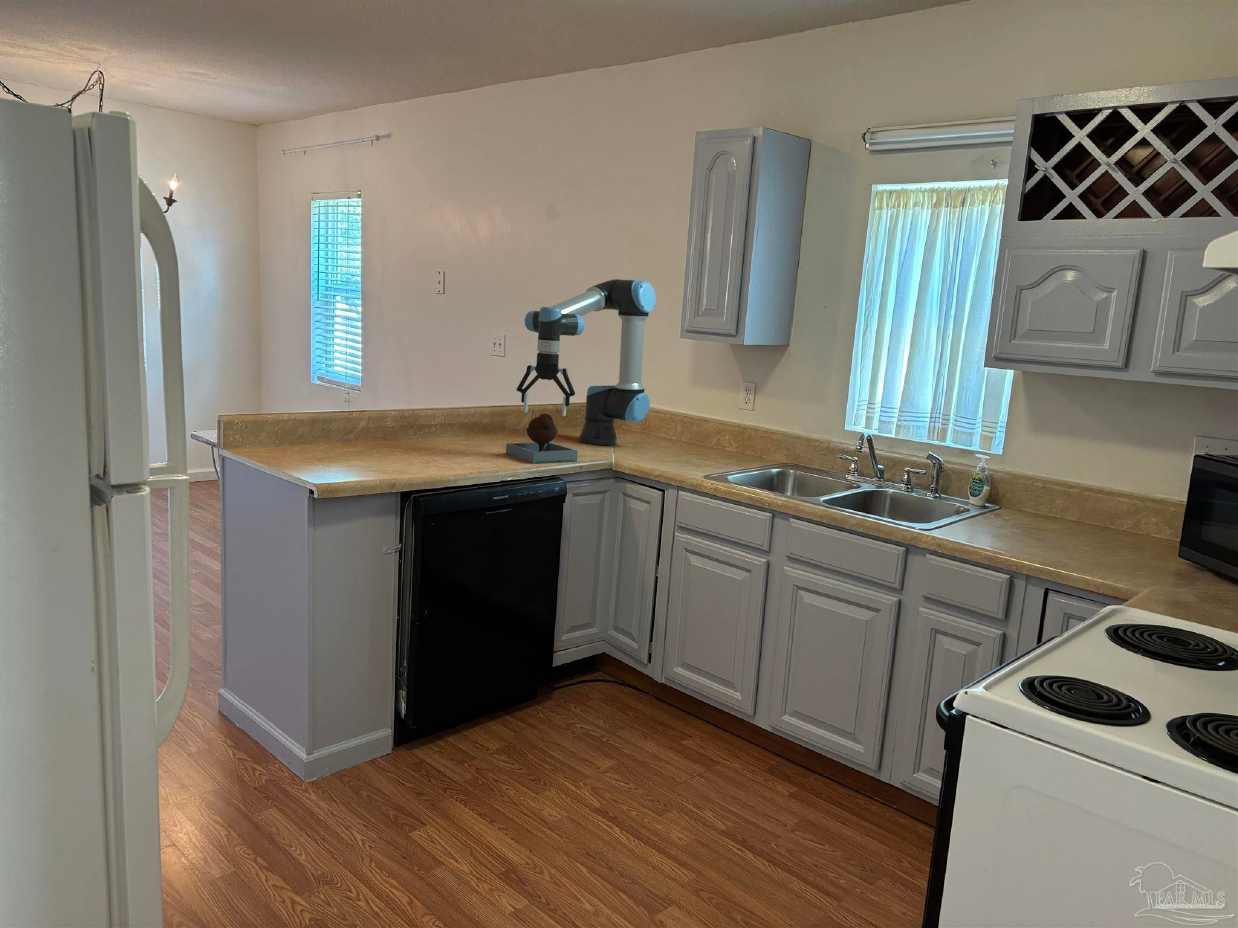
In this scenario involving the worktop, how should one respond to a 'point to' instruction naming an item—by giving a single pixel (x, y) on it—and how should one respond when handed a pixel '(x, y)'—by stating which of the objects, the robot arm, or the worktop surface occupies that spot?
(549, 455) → the charcoal bin
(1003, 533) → the worktop surface
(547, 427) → the ice cream bowl
